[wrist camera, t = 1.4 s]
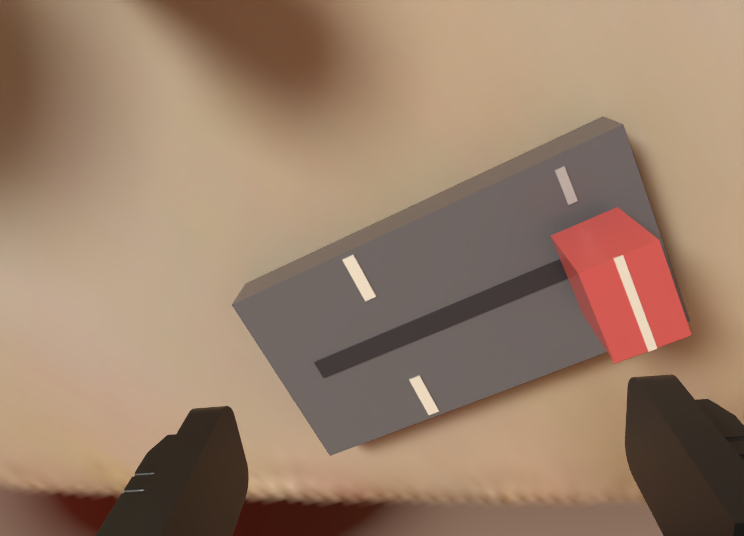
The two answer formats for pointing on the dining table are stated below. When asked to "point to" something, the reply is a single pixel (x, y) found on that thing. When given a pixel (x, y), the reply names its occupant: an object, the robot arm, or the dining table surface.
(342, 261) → the console
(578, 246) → the fader
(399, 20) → the dining table surface
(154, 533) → the robot arm
